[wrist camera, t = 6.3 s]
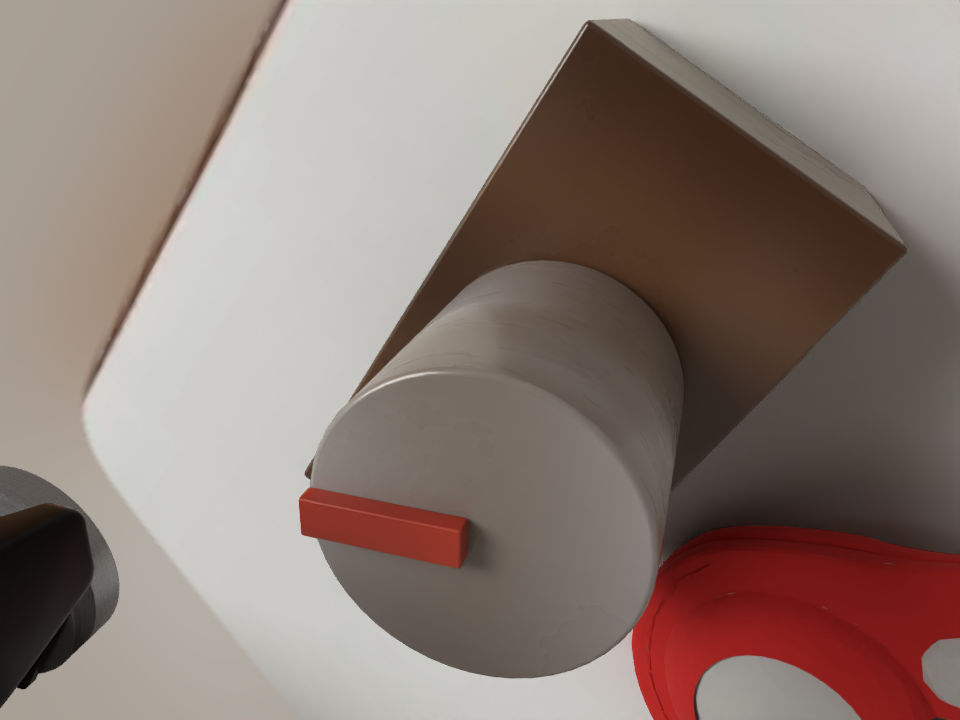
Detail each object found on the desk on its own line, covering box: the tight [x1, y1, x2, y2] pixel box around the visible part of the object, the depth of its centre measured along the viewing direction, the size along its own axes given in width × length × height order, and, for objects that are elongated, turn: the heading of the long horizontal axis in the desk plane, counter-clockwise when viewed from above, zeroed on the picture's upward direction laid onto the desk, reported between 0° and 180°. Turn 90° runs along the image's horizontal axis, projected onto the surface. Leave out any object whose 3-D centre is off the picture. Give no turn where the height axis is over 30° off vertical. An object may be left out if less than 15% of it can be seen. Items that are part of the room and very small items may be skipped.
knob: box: [299, 260, 684, 678], centre depth 11 cm, size 4×4×5 cm
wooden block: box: [305, 19, 908, 493], centre depth 16 cm, size 10×6×4 cm, turn 147°
